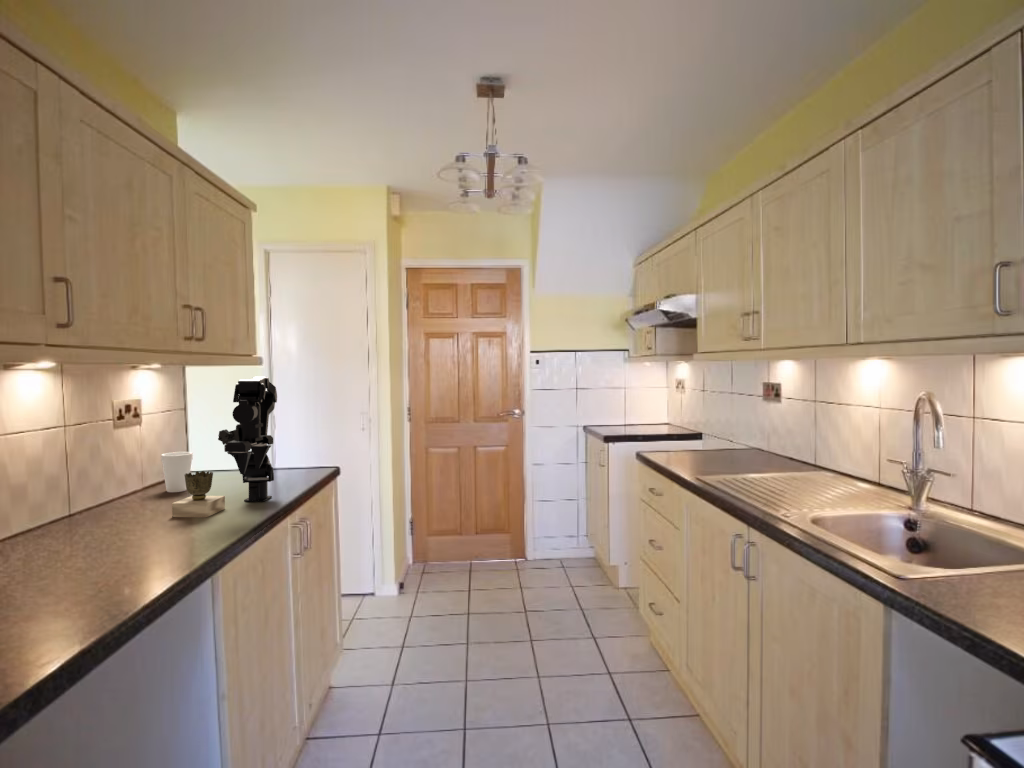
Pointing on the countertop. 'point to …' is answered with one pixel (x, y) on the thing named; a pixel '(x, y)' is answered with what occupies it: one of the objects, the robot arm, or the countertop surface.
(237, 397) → the robot arm
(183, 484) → the foam cup
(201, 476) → the cup
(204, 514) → the pedestal
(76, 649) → the countertop surface
